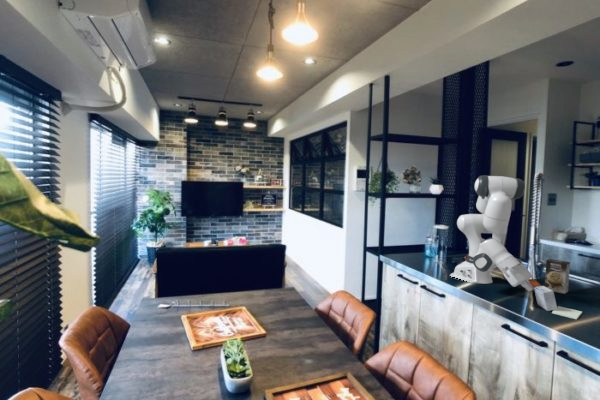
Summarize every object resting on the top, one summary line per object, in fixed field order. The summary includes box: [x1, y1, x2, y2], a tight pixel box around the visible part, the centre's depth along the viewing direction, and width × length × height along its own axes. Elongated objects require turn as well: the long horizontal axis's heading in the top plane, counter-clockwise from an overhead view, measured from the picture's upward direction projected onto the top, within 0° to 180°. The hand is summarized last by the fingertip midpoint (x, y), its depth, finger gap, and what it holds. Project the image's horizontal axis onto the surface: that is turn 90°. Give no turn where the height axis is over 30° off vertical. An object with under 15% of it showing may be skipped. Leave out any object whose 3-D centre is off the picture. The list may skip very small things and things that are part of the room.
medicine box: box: [534, 285, 558, 312], centre depth 152 cm, size 8×4×9 cm, turn 171°
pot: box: [524, 278, 542, 292], centre depth 176 cm, size 8×8×7 cm
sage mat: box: [551, 305, 583, 320], centre depth 146 cm, size 8×11×1 cm
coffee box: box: [544, 258, 571, 294], centre depth 177 cm, size 9×6×16 cm
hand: (531, 290), depth 156 cm, fingers closed
